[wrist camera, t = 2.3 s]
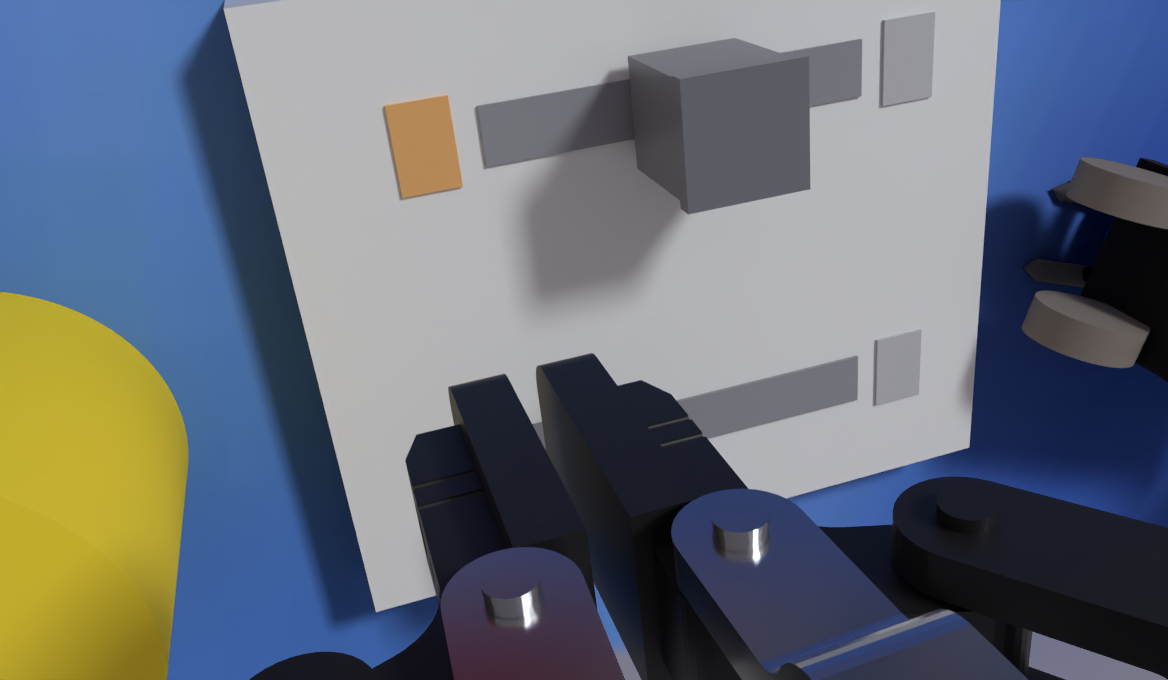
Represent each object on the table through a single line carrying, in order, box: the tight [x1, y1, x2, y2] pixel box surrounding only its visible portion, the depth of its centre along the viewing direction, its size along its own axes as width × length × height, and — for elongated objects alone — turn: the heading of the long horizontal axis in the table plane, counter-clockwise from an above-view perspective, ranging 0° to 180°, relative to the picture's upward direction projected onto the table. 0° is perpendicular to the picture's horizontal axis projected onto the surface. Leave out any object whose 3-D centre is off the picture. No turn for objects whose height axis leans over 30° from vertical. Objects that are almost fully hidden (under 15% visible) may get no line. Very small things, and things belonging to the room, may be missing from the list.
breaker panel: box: [224, 0, 1001, 612], centre depth 31 cm, size 21×18×2 cm
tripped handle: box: [628, 38, 810, 215], centre depth 26 cm, size 3×3×4 cm
